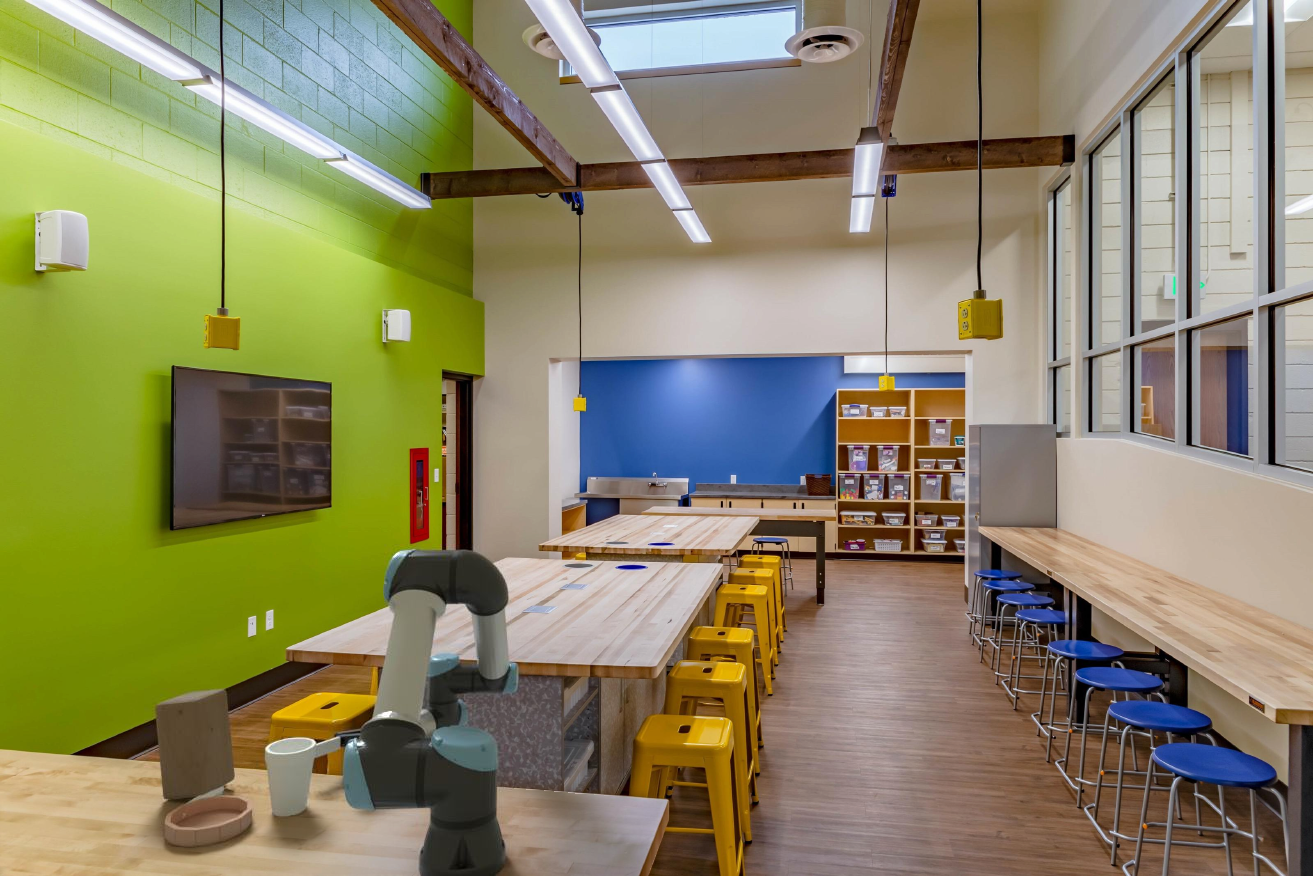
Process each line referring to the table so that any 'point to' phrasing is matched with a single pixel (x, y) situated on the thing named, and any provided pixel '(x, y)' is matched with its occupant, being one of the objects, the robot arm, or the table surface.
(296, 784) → the foam cup
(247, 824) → the bowl
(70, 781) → the table surface
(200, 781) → the wooden block
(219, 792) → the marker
